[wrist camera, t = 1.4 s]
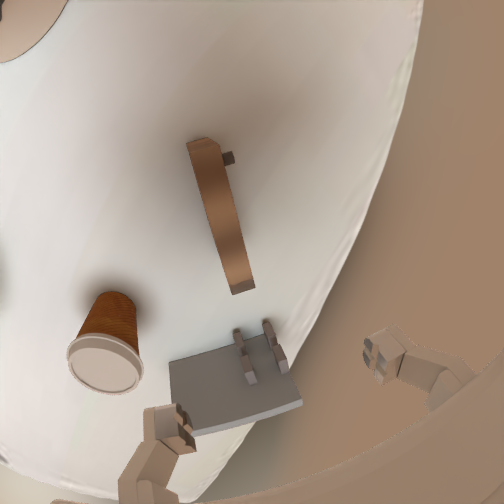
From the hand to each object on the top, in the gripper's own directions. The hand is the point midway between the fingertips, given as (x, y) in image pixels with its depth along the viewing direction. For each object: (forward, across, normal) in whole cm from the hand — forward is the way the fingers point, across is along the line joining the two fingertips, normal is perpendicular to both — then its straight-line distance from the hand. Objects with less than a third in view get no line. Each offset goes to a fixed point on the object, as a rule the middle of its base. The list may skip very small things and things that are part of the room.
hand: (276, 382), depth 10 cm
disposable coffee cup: (+26, +17, +10) cm, 33 cm away
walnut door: (+26, -1, -1) cm, 26 cm away
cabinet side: (+26, +5, +23) cm, 35 cm away
